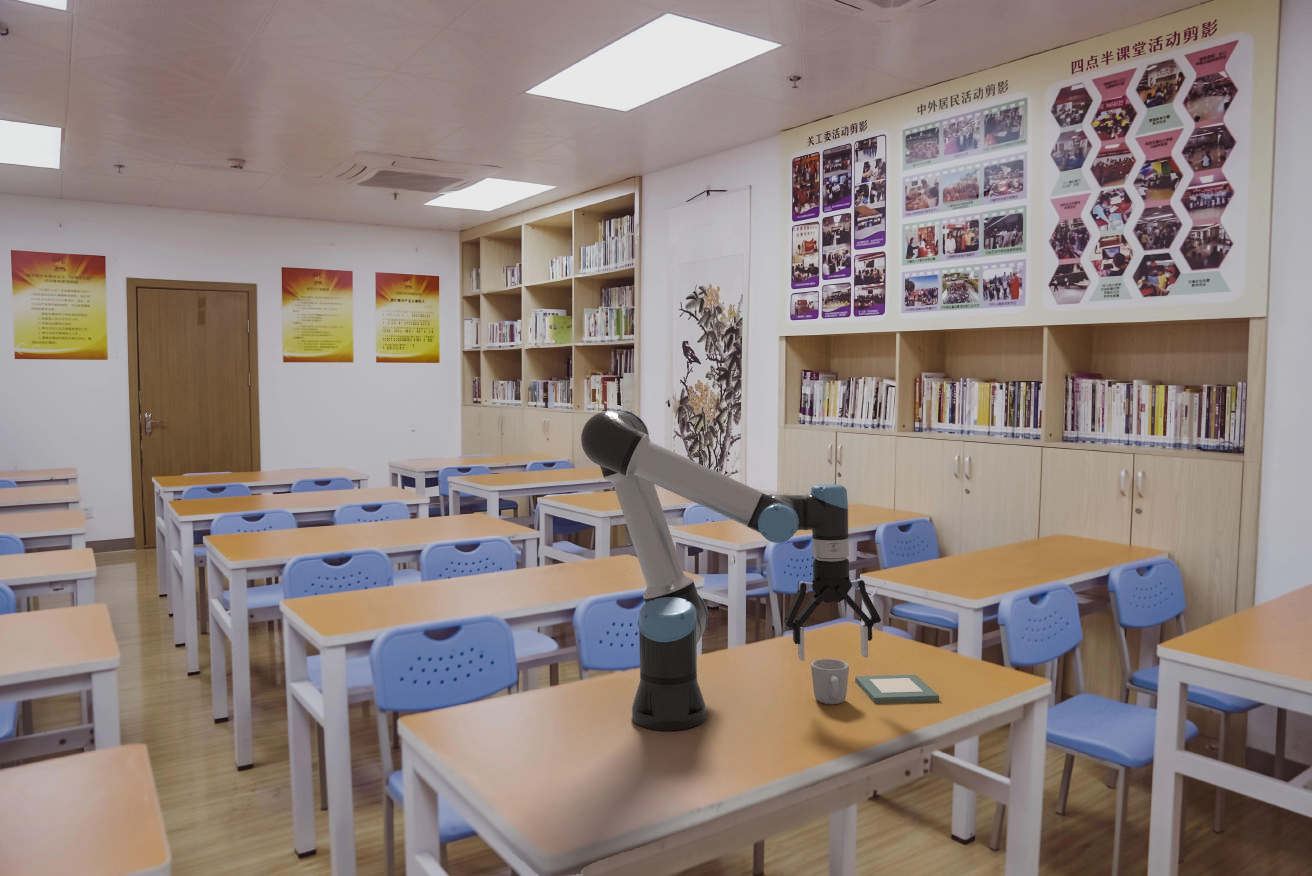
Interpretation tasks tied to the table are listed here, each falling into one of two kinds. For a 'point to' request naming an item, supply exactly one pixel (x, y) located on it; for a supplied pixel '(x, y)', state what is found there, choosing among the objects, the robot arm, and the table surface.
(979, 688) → the table surface
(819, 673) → the cup
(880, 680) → the board
